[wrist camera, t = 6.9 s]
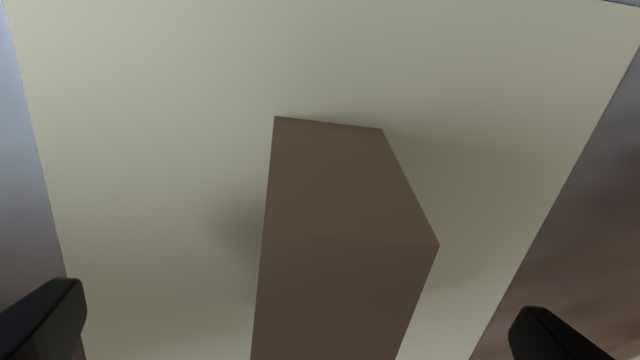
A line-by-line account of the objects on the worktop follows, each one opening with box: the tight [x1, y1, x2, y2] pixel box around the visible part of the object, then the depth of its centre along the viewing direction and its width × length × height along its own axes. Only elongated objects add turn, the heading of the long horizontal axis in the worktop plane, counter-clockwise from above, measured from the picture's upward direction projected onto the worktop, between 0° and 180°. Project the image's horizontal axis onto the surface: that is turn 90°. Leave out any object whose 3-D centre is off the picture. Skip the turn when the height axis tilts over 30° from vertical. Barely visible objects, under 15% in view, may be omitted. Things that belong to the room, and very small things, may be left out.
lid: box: [3, 0, 640, 360], centre depth 9 cm, size 12×12×5 cm
